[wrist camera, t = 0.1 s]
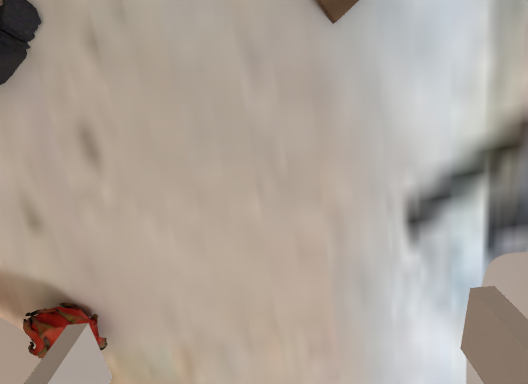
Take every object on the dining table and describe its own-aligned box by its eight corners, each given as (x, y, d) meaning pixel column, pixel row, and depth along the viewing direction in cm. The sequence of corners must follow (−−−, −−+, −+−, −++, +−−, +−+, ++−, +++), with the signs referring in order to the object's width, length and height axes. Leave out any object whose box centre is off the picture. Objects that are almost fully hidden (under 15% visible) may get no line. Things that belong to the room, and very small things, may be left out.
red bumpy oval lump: (117, 338, 51) (61, 286, 49) (128, 339, 44) (63, 279, 43) (69, 389, 46) (4, 334, 44) (74, 400, 39) (-3, 334, 37)
